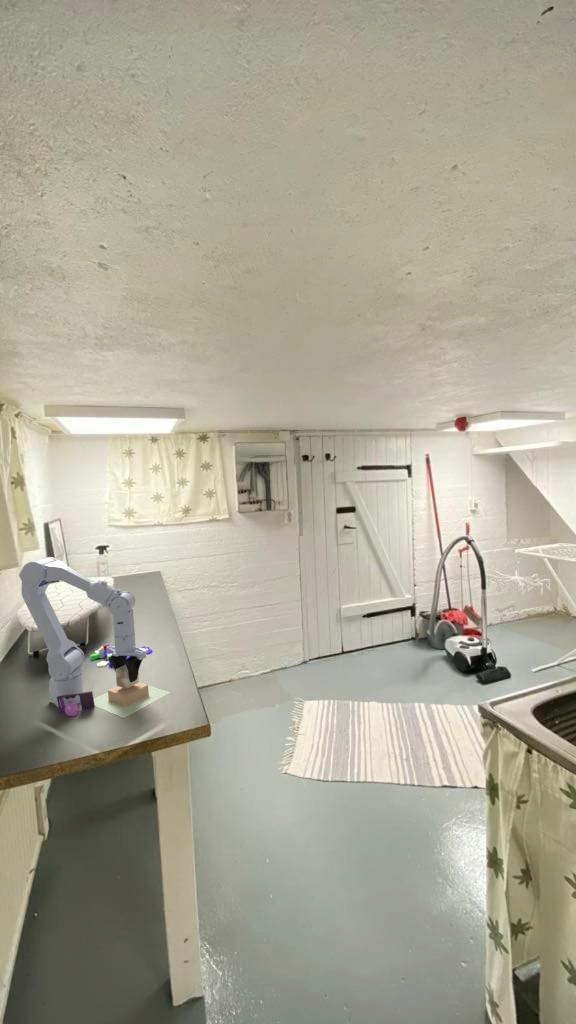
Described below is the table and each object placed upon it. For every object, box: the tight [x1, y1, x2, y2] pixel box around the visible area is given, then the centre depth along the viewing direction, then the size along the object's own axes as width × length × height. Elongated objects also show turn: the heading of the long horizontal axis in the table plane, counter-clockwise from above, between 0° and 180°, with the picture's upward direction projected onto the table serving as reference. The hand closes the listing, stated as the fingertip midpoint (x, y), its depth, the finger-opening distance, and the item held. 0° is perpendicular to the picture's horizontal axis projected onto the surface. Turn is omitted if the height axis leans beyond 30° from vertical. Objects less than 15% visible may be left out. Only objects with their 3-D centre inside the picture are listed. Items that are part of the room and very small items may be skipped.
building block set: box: [89, 644, 153, 669], centre depth 159 cm, size 25×20×4 cm
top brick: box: [115, 665, 140, 689], centre depth 123 cm, size 4×4×5 cm
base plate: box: [93, 684, 171, 719], centre depth 123 cm, size 18×16×1 cm
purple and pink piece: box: [57, 690, 96, 717], centre depth 115 cm, size 7×5×9 cm
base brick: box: [107, 681, 149, 707], centre depth 123 cm, size 8×8×3 cm
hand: (127, 679), depth 123 cm, fingers closed on top brick, 4 cm apart
